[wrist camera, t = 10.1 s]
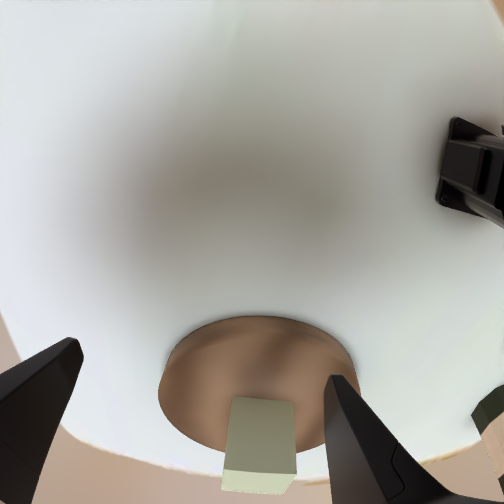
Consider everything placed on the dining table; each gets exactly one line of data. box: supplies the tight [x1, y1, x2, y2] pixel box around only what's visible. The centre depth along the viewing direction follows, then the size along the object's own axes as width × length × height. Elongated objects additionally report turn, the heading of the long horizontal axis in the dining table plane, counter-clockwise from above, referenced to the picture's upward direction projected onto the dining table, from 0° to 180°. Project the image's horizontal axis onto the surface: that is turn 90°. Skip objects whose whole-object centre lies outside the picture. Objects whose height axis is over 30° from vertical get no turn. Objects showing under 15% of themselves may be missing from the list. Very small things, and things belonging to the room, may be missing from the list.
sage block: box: [221, 396, 297, 494], centre depth 20 cm, size 5×5×7 cm
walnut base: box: [158, 316, 361, 453], centre depth 25 cm, size 18×18×3 cm
